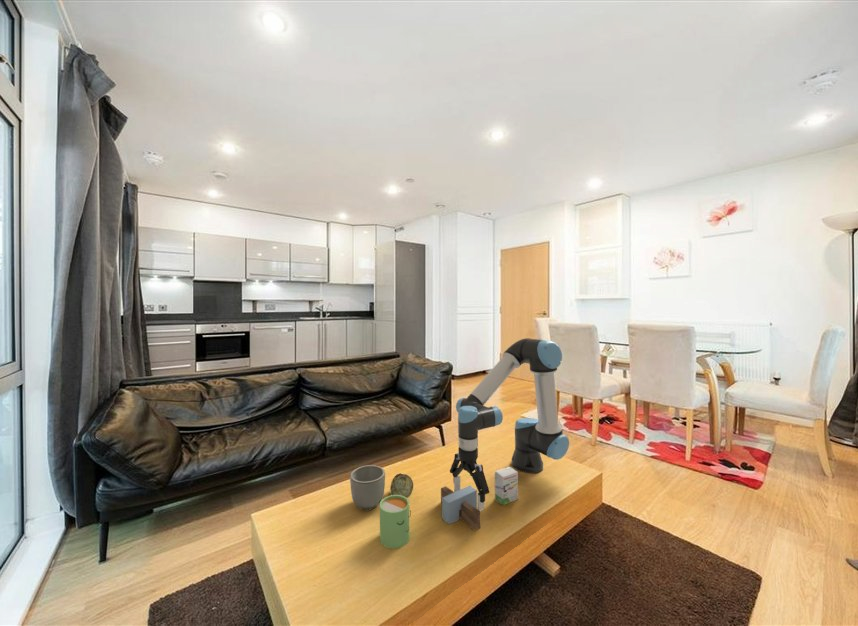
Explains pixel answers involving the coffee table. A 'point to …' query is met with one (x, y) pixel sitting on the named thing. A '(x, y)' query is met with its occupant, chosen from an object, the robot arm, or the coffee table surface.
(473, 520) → the walnut rail
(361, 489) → the planter
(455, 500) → the blue rectangular block
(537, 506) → the coffee table surface
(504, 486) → the ink box
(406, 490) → the seashell
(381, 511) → the mug
